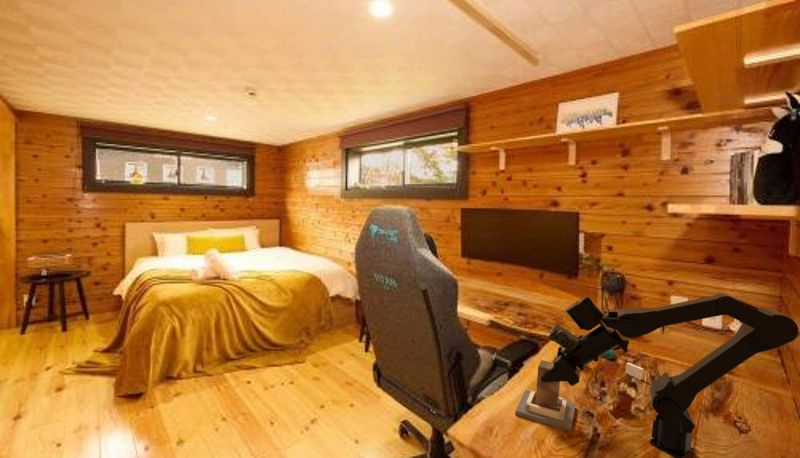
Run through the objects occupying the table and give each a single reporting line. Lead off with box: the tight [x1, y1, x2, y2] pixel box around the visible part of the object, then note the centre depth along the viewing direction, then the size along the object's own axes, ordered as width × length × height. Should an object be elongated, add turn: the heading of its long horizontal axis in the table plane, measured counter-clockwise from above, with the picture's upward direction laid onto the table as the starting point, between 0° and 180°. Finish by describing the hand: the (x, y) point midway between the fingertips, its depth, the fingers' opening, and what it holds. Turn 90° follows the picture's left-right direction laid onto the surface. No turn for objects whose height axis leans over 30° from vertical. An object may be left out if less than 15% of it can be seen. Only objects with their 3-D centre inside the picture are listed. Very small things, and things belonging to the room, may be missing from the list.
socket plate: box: [514, 389, 576, 432], centre depth 99 cm, size 13×13×2 cm
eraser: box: [625, 362, 644, 381], centre depth 123 cm, size 1×5×4 cm, turn 24°
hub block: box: [535, 359, 561, 410], centre depth 98 cm, size 5×5×10 cm
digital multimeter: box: [601, 349, 615, 360], centre depth 143 cm, size 7×15×3 cm, turn 64°
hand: (543, 376), depth 99 cm, fingers closed on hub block, 5 cm apart
